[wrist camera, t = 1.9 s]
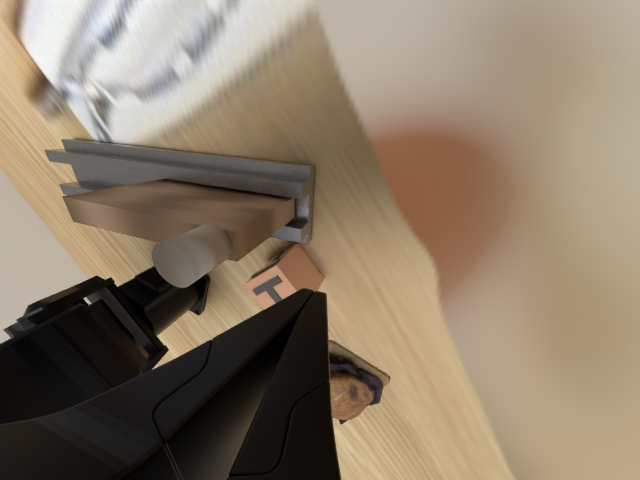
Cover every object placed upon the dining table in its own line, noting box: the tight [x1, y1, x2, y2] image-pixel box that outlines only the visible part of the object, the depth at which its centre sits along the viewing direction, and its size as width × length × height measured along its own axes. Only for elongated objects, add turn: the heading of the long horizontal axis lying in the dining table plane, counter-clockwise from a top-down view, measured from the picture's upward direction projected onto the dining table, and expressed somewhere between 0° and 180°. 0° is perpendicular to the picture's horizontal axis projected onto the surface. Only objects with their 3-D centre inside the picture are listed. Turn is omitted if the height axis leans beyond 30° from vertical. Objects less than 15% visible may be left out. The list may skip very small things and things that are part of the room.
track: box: [45, 139, 315, 244], centre depth 20 cm, size 26×6×2 cm, turn 86°
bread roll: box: [329, 340, 390, 424], centre depth 24 cm, size 11×8×4 cm
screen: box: [62, 179, 295, 288], centre depth 14 cm, size 12×2×9 cm, turn 86°
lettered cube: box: [244, 243, 324, 309], centre depth 19 cm, size 4×4×4 cm
